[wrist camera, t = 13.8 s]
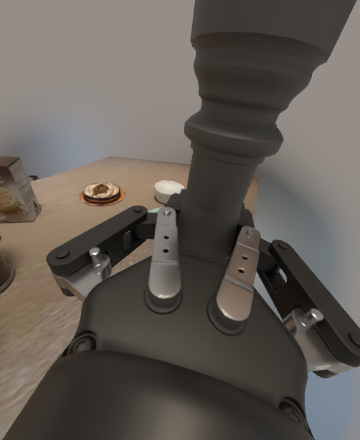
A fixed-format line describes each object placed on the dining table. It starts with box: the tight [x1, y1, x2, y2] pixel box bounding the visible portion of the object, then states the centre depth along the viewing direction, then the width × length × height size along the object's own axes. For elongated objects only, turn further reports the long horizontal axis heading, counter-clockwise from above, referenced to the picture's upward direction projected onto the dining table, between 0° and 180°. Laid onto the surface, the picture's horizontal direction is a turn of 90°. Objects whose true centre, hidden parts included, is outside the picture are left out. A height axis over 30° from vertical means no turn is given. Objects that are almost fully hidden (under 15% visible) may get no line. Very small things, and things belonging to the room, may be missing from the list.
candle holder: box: [176, 0, 356, 260], centre depth 13 cm, size 6×6×25 cm
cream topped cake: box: [80, 182, 125, 206], centre depth 62 cm, size 15×15×4 cm
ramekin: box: [154, 181, 184, 204], centre depth 65 cm, size 11×11×5 cm
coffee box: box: [0, 156, 41, 223], centre depth 44 cm, size 9×6×16 cm
